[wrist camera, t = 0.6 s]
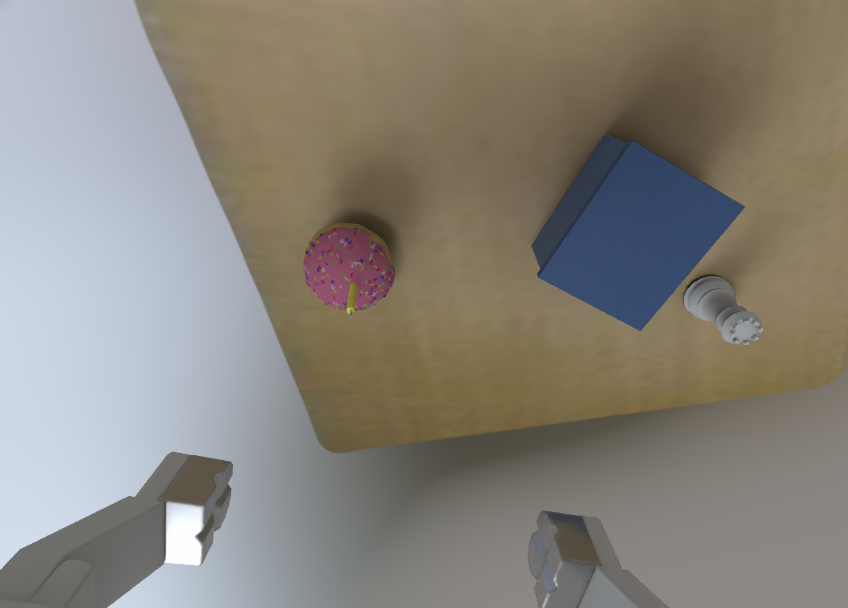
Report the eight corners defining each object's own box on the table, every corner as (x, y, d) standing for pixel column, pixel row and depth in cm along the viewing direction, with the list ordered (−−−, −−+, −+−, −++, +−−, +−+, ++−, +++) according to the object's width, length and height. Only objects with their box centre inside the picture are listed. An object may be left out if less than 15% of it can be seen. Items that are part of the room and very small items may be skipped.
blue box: (604, 128, 43) (632, 140, 36) (700, 185, 44) (745, 207, 37) (526, 247, 48) (537, 277, 41) (615, 294, 50) (640, 331, 43)
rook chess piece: (699, 322, 50) (738, 364, 43) (672, 295, 49) (708, 333, 42) (738, 293, 49) (785, 332, 42) (711, 265, 48) (755, 300, 41)
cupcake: (414, 241, 49) (401, 290, 38) (373, 304, 52) (350, 366, 41) (340, 195, 47) (304, 232, 36) (302, 263, 51) (259, 315, 40)
